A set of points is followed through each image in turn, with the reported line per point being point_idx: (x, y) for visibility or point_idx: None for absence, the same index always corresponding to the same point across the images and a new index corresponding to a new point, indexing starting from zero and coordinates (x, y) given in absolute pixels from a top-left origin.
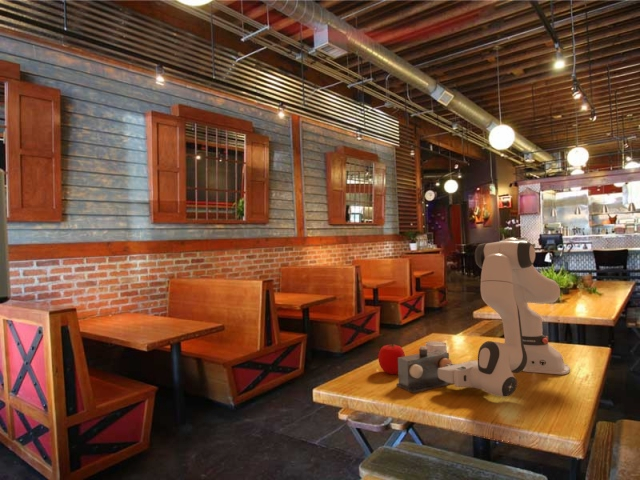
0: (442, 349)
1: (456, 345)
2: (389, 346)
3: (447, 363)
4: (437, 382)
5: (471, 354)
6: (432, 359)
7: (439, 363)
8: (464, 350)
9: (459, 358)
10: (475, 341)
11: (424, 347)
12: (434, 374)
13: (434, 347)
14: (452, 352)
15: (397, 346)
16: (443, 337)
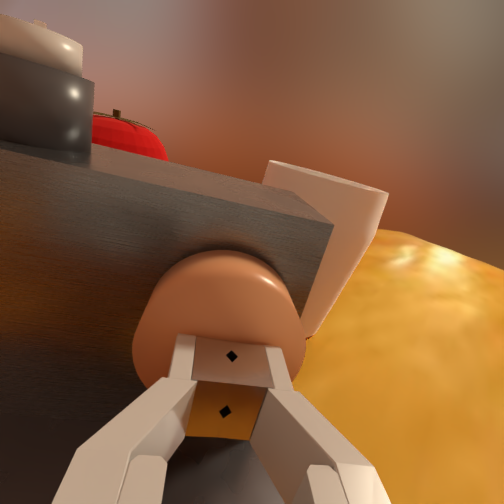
0: (337, 210)
1: (436, 263)
2: (96, 115)
3: (228, 334)
4: (57, 457)
5: (478, 304)
6: (55, 205)
7: (154, 288)
8: (455, 283)
9: (428, 300)
10: (492, 275)
11: (13, 19)
12: (77, 366)
13: (290, 179)
14: (414, 273)
15: (123, 123)
16: (412, 240)
